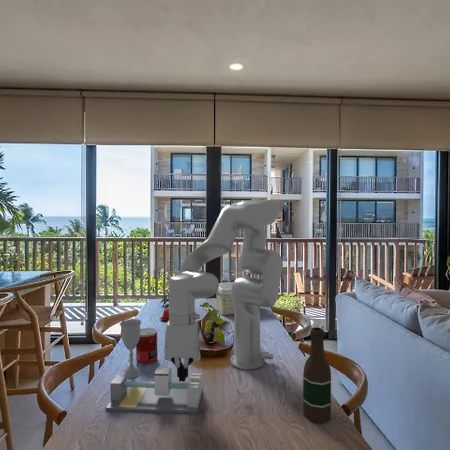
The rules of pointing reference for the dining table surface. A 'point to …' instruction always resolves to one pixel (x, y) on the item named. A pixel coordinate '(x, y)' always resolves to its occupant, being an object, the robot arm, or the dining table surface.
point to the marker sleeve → (162, 381)
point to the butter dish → (165, 315)
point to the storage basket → (225, 299)
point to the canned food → (147, 346)
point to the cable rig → (155, 396)
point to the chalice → (131, 342)
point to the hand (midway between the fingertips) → (182, 379)
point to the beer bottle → (317, 381)
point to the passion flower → (165, 298)
